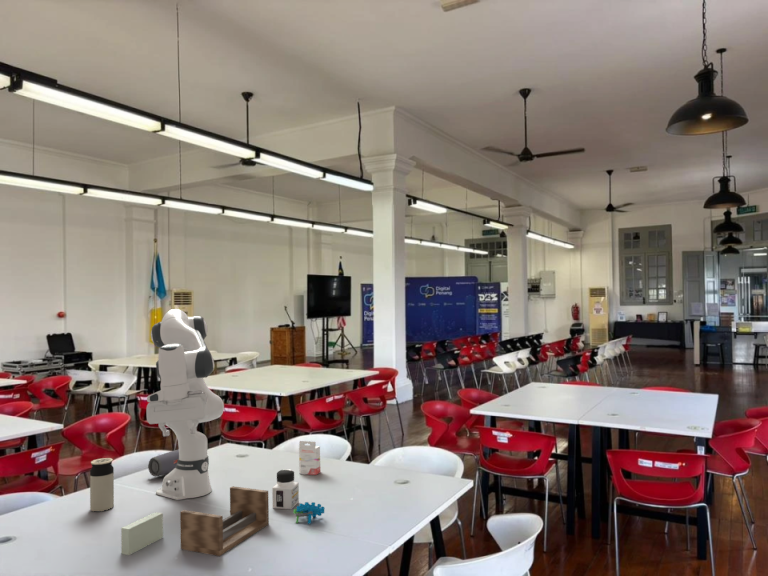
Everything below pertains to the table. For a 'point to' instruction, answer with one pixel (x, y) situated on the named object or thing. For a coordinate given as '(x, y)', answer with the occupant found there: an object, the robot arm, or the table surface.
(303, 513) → the gear
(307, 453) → the ink cartridge box
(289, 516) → the table surface
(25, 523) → the table surface
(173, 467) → the bluetooth speaker
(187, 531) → the cabinet base
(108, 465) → the travel mug
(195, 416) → the robot arm
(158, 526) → the door panel
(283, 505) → the container
